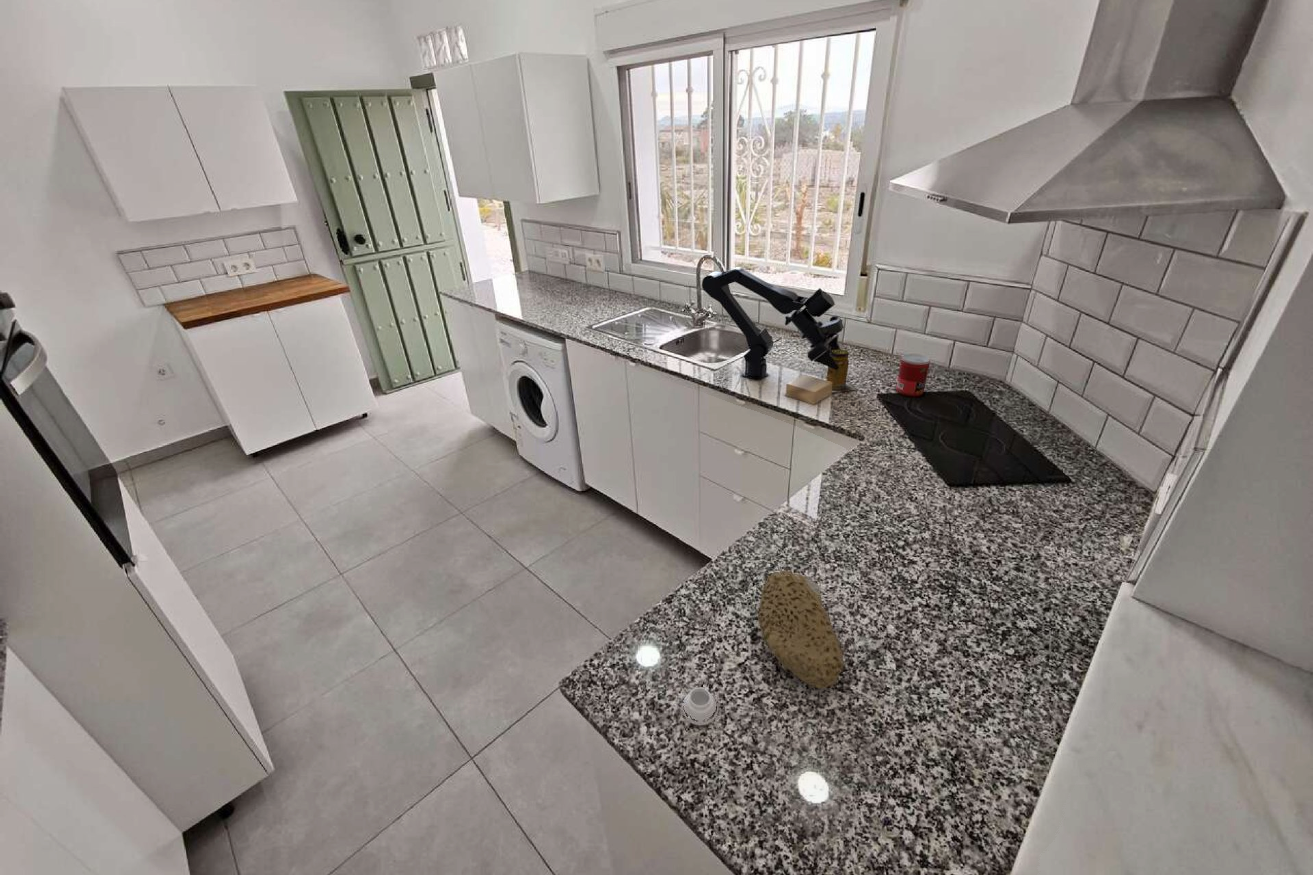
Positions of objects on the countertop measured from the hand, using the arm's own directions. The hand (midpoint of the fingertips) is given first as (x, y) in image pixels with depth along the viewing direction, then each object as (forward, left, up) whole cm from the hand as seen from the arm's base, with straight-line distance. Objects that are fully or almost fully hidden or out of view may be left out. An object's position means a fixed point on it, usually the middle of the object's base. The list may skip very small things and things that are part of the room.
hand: (840, 364), depth 168 cm
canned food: (+18, +11, -8) cm, 23 cm away
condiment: (0, 0, -8) cm, 8 cm away
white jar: (+43, -114, -8) cm, 122 cm away
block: (-4, -11, -8) cm, 14 cm away
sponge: (+46, -94, -8) cm, 105 cm away
